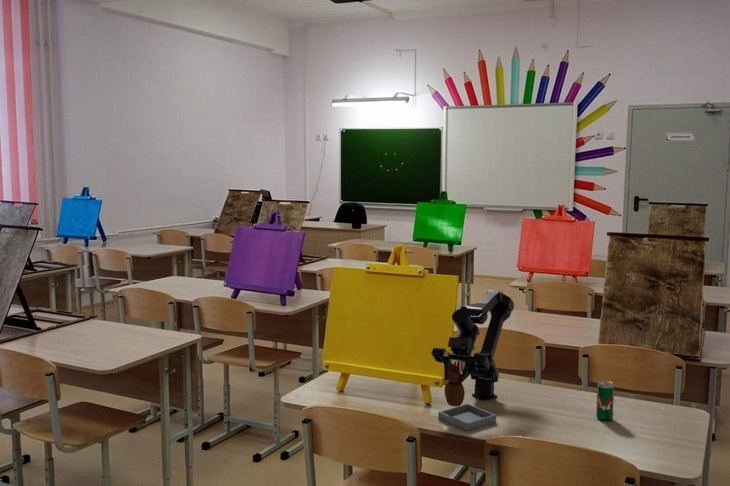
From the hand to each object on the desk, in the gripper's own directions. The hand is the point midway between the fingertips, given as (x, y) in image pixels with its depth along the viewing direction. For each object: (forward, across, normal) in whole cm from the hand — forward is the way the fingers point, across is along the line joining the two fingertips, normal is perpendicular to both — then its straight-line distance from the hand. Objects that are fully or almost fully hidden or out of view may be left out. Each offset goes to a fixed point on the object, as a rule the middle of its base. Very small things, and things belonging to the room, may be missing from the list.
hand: (452, 381), depth 215 cm
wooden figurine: (+5, 0, +7) cm, 8 cm away
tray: (+8, +4, +11) cm, 14 cm away
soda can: (-9, +41, +29) cm, 51 cm away
